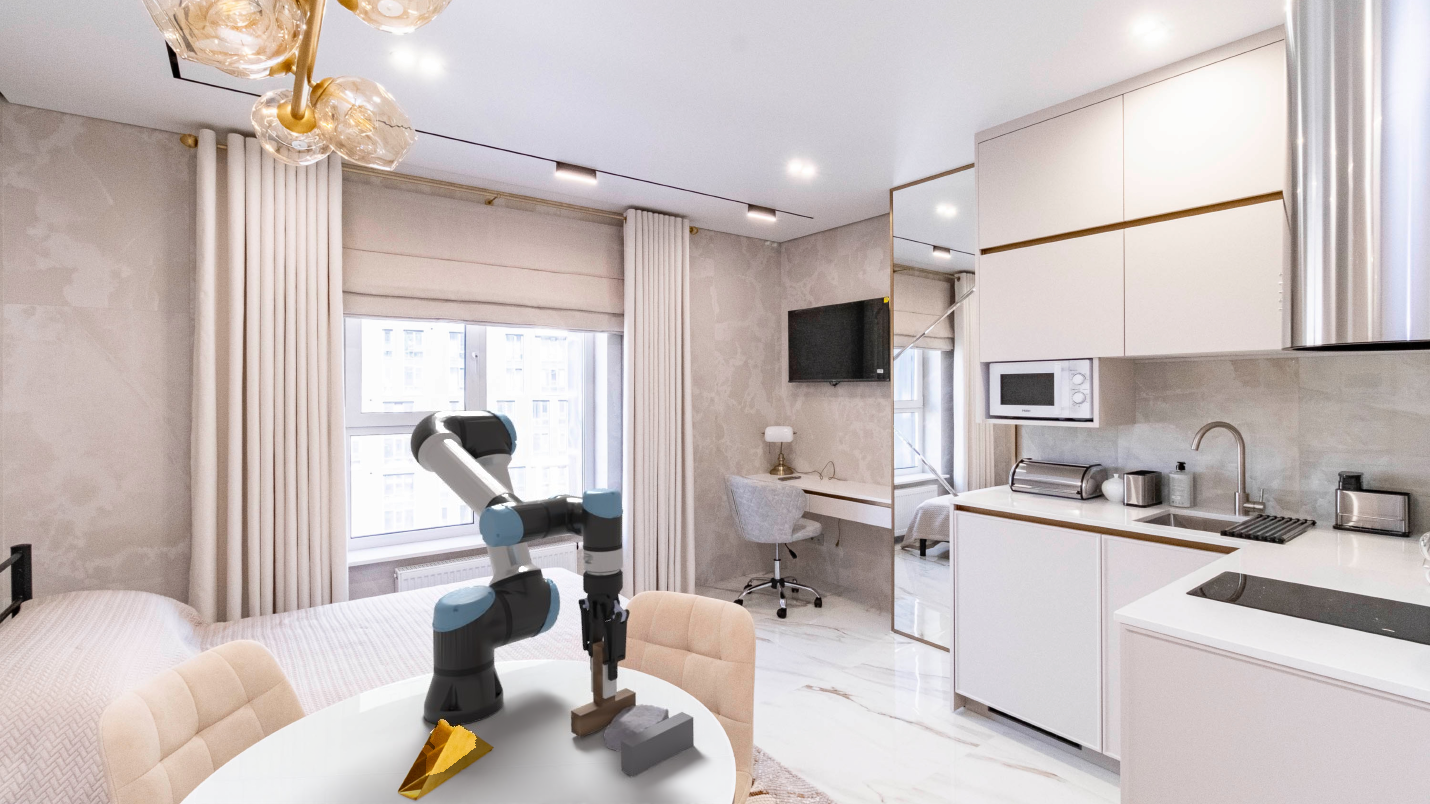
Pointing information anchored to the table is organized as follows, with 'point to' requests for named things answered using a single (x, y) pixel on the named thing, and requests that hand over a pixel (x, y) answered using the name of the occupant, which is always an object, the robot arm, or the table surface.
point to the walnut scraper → (599, 701)
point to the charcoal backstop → (656, 744)
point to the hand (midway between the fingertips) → (603, 692)
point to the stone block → (632, 723)
